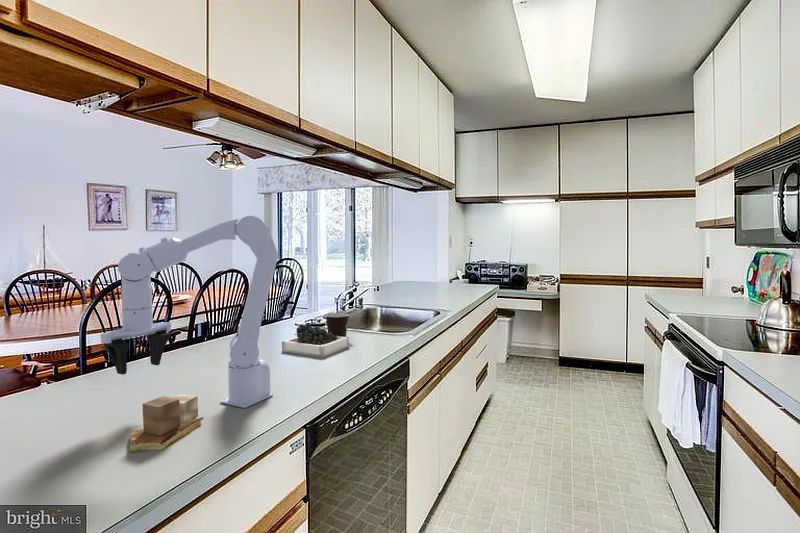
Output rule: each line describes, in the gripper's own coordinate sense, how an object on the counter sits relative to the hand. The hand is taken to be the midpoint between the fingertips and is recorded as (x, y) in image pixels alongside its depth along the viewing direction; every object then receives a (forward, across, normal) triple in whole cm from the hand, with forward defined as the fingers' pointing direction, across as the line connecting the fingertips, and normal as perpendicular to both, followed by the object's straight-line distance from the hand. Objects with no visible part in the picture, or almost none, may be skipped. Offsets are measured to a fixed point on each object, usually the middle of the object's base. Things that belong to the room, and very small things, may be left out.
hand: (139, 369), depth 96 cm
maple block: (+10, -2, +11) cm, 15 cm away
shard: (+11, +6, +14) cm, 19 cm away
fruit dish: (+10, -64, 0) cm, 65 cm away
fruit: (+9, -64, 0) cm, 65 cm away
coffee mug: (+10, -80, -1) cm, 81 cm away
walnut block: (+8, +6, +15) cm, 18 cm away
